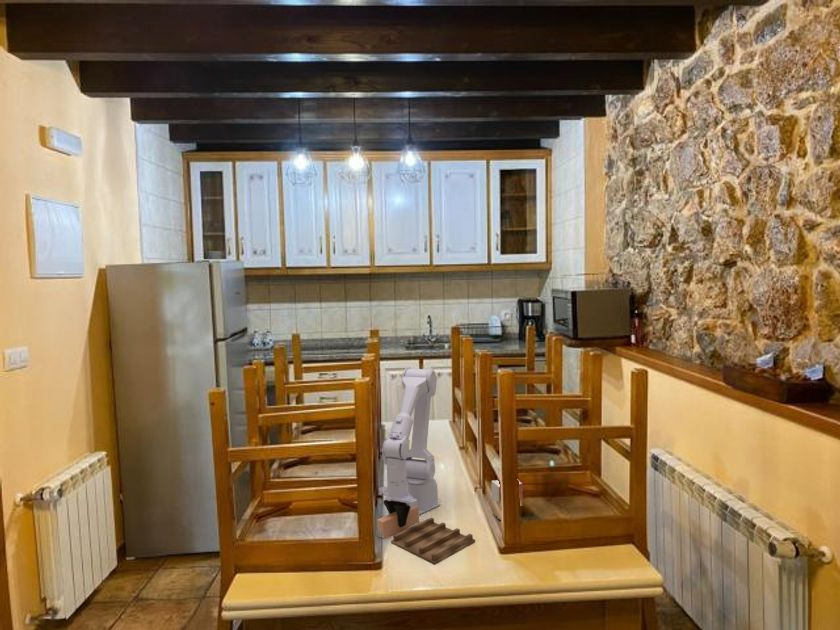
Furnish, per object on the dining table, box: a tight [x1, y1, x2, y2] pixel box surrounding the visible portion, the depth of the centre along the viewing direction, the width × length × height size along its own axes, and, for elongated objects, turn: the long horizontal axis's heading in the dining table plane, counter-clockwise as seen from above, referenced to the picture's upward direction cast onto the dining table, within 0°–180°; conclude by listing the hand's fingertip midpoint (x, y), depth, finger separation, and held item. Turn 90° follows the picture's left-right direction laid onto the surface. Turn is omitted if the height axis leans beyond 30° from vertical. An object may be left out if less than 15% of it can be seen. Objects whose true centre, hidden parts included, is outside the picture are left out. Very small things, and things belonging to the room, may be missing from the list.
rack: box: [390, 517, 476, 566], centre depth 157 cm, size 16×17×2 cm
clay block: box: [376, 506, 420, 540], centre depth 165 cm, size 14×2×5 cm, turn 134°
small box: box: [491, 479, 524, 507], centre depth 171 cm, size 8×6×10 cm
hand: (398, 524), depth 165 cm, fingers closed on clay block, 2 cm apart
